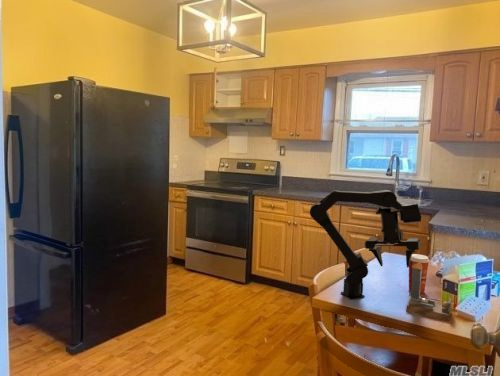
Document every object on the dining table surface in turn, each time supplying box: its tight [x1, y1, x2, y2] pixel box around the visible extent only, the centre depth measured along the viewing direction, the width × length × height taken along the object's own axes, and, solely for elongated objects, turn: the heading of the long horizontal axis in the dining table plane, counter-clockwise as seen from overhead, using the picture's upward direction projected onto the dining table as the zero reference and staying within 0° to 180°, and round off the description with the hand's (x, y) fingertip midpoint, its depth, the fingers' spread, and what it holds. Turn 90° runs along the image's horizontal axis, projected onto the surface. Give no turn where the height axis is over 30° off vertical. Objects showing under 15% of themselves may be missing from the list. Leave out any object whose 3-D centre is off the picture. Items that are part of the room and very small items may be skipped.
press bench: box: [405, 297, 453, 322], centre depth 130 cm, size 13×8×6 cm, turn 58°
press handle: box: [408, 262, 430, 304], centre depth 131 cm, size 6×3×14 cm, turn 58°
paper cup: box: [408, 253, 430, 295], centre depth 149 cm, size 8×8×14 cm
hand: (394, 266), depth 140 cm, fingers open, 9 cm apart
